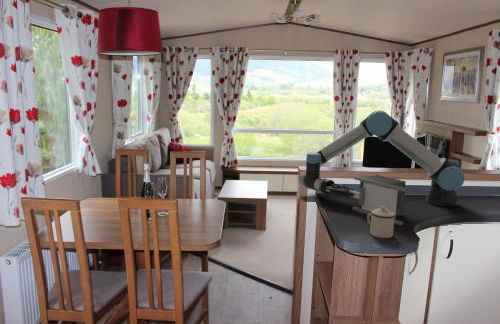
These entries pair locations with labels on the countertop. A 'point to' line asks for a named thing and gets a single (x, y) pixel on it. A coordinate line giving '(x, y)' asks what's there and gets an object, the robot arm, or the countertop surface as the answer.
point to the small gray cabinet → (387, 183)
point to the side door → (377, 197)
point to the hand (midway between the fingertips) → (360, 196)
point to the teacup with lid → (381, 222)
